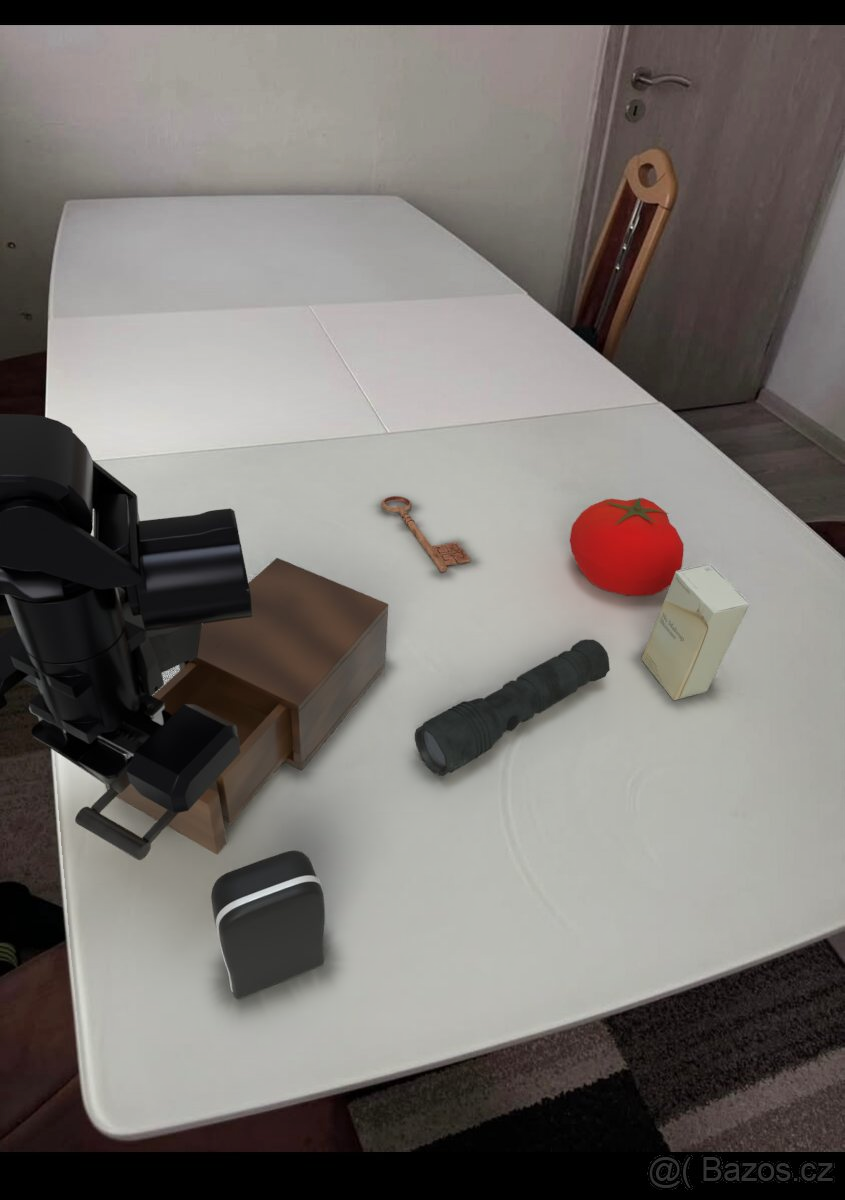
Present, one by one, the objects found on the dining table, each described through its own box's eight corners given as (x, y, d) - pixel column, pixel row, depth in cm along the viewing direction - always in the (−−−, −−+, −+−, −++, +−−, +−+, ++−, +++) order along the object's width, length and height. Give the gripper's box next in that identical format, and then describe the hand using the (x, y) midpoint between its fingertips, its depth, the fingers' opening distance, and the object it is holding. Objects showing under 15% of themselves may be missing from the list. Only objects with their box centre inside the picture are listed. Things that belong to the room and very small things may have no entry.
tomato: (656, 626, 88) (682, 552, 82) (548, 584, 93) (565, 510, 86) (684, 572, 96) (710, 500, 89) (583, 535, 100) (601, 463, 93)
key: (472, 567, 94) (418, 496, 104) (473, 561, 94) (419, 490, 103) (427, 574, 92) (376, 502, 102) (428, 568, 91) (377, 495, 101)
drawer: (175, 906, 60) (161, 857, 56) (60, 837, 64) (39, 785, 59) (314, 738, 73) (313, 687, 68) (212, 688, 76) (204, 636, 72)
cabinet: (301, 770, 71) (298, 705, 65) (187, 712, 75) (175, 647, 69) (385, 667, 81) (388, 603, 75) (280, 621, 85) (276, 557, 79)
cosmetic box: (639, 659, 84) (671, 569, 76) (675, 650, 86) (709, 560, 78) (674, 703, 80) (712, 612, 72) (711, 692, 81) (752, 602, 73)
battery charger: (311, 918, 61) (307, 833, 53) (328, 964, 58) (327, 882, 51) (218, 954, 59) (201, 870, 51) (232, 1004, 56) (216, 924, 48)
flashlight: (411, 751, 73) (414, 714, 70) (571, 659, 84) (581, 624, 80) (445, 788, 71) (450, 753, 67) (607, 689, 81) (618, 654, 77)
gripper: (285, 608, 50) (294, 762, 61) (62, 511, 56) (105, 667, 67) (161, 729, 43) (196, 881, 53) (-81, 602, 49) (-7, 761, 59)
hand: (121, 786), depth 58 cm, fingers closed
